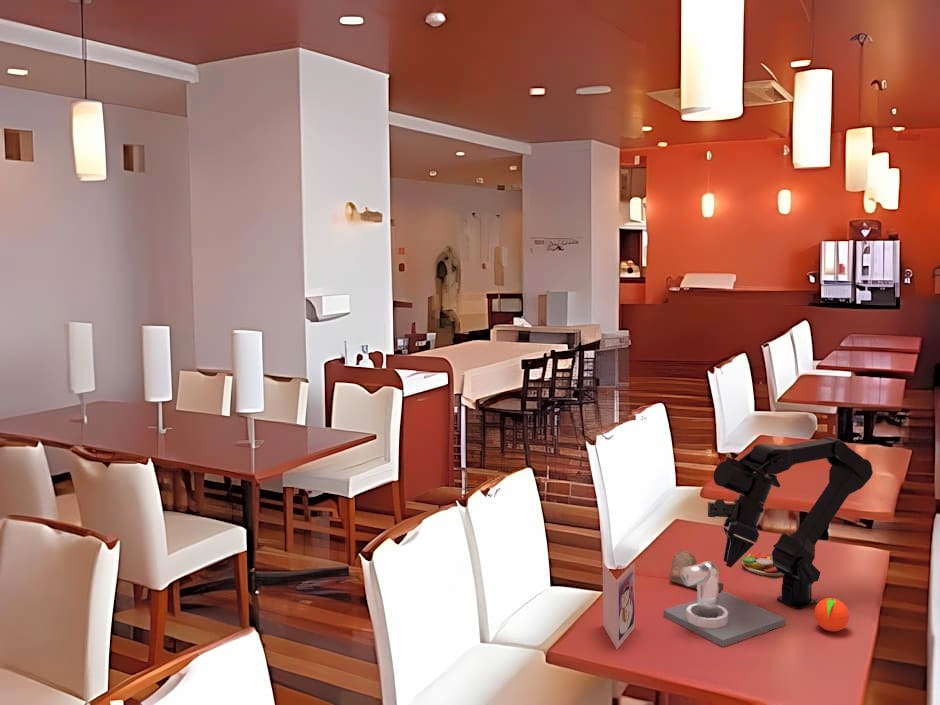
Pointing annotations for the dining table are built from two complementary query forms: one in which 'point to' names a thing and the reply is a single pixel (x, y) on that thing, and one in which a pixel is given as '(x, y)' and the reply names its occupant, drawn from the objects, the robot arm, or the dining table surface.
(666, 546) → the dining table surface
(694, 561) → the pipe
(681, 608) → the duct flange
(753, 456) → the robot arm
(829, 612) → the clementine
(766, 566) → the toy food set
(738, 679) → the dining table surface
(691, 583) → the chrome ball-end rod
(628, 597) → the greeting card
